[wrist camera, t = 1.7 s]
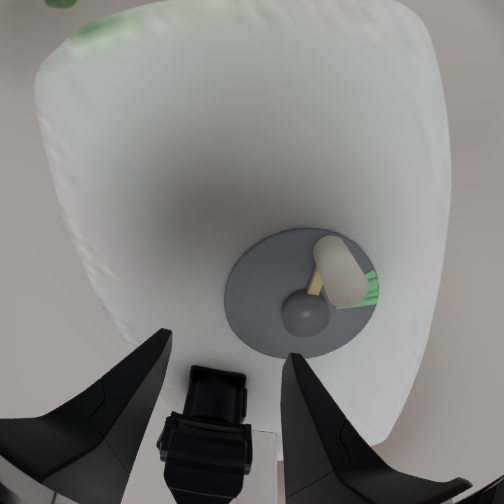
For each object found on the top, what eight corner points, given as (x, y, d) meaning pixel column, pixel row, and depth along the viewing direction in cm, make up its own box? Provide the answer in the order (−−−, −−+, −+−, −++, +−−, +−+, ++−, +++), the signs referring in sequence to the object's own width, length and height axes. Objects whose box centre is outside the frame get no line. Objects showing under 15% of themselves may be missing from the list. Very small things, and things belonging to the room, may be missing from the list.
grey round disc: (215, 340, 27) (214, 348, 26) (241, 210, 21) (241, 215, 20) (340, 357, 28) (342, 365, 27) (397, 248, 22) (403, 254, 21)
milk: (240, 428, 36) (232, 552, 16) (276, 432, 37) (278, 552, 17) (232, 441, 39) (223, 550, 19) (265, 445, 39) (263, 551, 19)
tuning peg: (317, 328, 24) (328, 376, 19) (276, 322, 24) (279, 372, 19) (356, 238, 20) (384, 277, 15) (308, 226, 20) (325, 265, 15)
